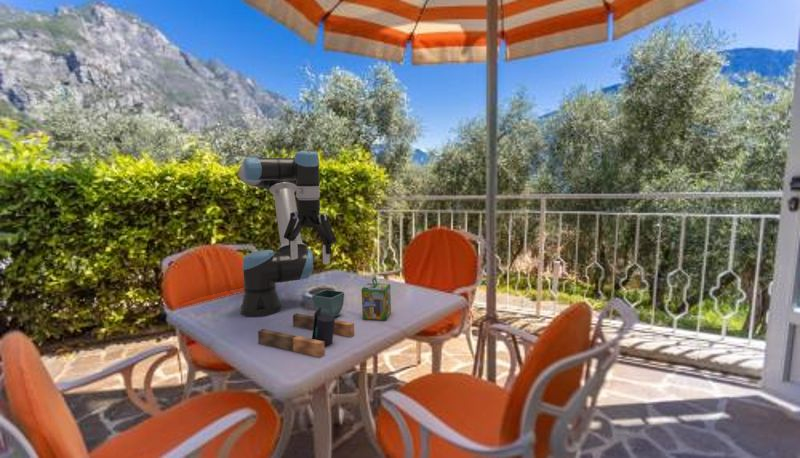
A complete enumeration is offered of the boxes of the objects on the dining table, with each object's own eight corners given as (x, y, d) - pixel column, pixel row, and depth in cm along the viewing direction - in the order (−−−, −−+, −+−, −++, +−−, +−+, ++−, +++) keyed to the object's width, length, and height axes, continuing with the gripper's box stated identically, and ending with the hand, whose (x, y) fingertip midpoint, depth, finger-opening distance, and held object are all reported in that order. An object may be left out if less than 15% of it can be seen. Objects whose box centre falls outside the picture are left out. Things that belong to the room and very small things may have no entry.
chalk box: (386, 321, 141) (385, 281, 139) (361, 319, 143) (360, 280, 141) (391, 312, 150) (391, 274, 148) (368, 311, 152) (367, 274, 150)
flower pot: (345, 314, 148) (345, 291, 147) (332, 322, 140) (331, 298, 139) (326, 311, 152) (325, 289, 151) (312, 319, 144) (311, 295, 143)
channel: (258, 343, 123) (257, 331, 122) (297, 324, 139) (296, 313, 138) (320, 357, 112) (320, 344, 112) (354, 334, 128) (354, 323, 128)
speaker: (305, 343, 122) (307, 311, 120) (316, 337, 127) (319, 307, 126) (325, 350, 118) (327, 317, 117) (336, 343, 124) (338, 312, 122)
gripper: (271, 198, 131) (274, 259, 135) (332, 201, 121) (334, 268, 124) (286, 196, 138) (289, 255, 142) (346, 199, 127) (347, 262, 131)
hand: (310, 261), depth 133 cm, fingers open, 13 cm apart
